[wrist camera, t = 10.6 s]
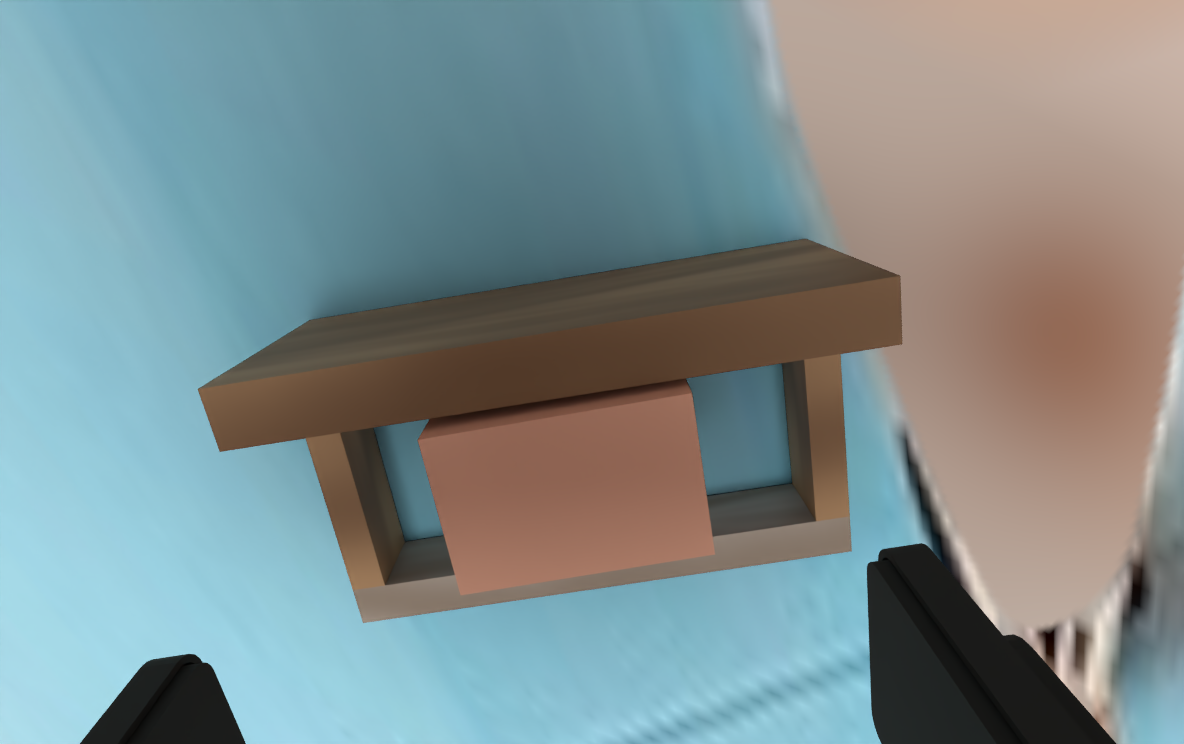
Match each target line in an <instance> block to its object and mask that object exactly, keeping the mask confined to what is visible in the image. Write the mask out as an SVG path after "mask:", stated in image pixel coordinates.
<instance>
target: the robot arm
mask: <svg viewBox="0 0 1184 744" xmlns="http://www.w3.org/2000/svg"><path fill="white" fill-rule="evenodd" d="M867 588H868V617H869V647H870V676H871V706H872V716H873V721H874V725H875V728H876V731H877V734H878V737H879V739H880V741H881V743H882V744H1116V743H1115V742H1114V740H1113V739H1112V738H1111V737H1110V736H1109V735H1108V734H1107V732H1106V731H1105V730H1104V729H1103V728H1102V727H1101V726H1100V724H1099V723H1098V722H1097V721H1096V720H1095V719H1094V718H1093V716H1092V715H1091V714H1090V713H1089V712H1088V711H1087V710H1086V708H1085V707H1084V706H1083V705H1082V704H1081V703H1080V702H1079V700H1078V699H1077V698H1076V697H1075V696H1074V695H1073V694H1072V693H1071V691H1070V690H1069V689H1068V688H1067V687H1066V686H1065V685H1064V683H1063V682H1062V681H1061V680H1060V679H1059V678H1058V677H1057V675H1056V674H1055V673H1054V672H1053V671H1052V670H1051V669H1050V667H1049V666H1048V665H1047V664H1046V663H1045V662H1044V661H1043V659H1042V658H1041V657H1040V656H1039V655H1038V654H1037V653H1036V651H1035V650H1034V649H1033V648H1032V647H1031V646H1030V645H1029V644H1028V643H1027V642H1026V641H1025V640H1023V639H1022V638H1020V637H1018V636H1016V635H1014V634H1013V635H1006V636H1003V635H1002V634H1001V633H1000V631H999V630H998V629H997V628H996V627H995V626H994V624H993V623H992V622H991V621H990V620H989V618H988V617H987V616H986V615H985V614H984V612H983V611H982V610H981V609H980V608H979V606H978V605H977V604H976V603H975V602H974V600H973V599H972V598H971V597H970V596H969V595H968V593H967V592H966V591H965V590H964V589H963V587H962V586H961V585H960V584H959V583H958V581H957V580H956V579H955V578H954V577H953V575H952V574H951V573H950V572H949V571H948V570H947V568H946V567H945V566H944V565H943V564H942V562H941V561H940V560H939V559H938V558H937V556H936V555H935V554H934V553H933V552H932V550H931V549H930V548H929V547H928V546H926V545H925V544H922V543H921V544H914V545H908V546H901V547H895V548H888V549H882V550H881V551H880V553H879V557H878V561H875V562H870V563H868V566H867ZM80 744H246V743H245V741H244V738H243V736H242V734H241V732H240V729H239V727H238V725H237V722H236V720H235V718H234V715H233V713H232V711H231V709H230V706H229V704H228V702H227V699H226V697H225V695H224V692H223V690H222V688H221V686H220V683H219V681H218V679H217V676H216V674H215V672H214V670H213V668H212V666H211V665H209V664H208V663H202V661H201V659H200V658H199V657H197V656H196V655H194V654H186V655H179V656H173V657H166V658H159V659H153V660H150V661H148V662H146V663H145V664H144V665H143V666H142V667H141V668H140V669H139V670H138V672H137V673H136V674H135V675H134V677H133V678H132V679H131V680H130V682H129V683H128V684H127V685H126V687H125V688H124V689H123V690H122V692H121V693H120V694H119V695H118V697H117V698H116V699H115V700H114V702H113V703H112V704H111V705H110V707H109V708H108V709H107V710H106V712H105V713H104V714H103V715H102V717H101V718H100V719H99V720H98V722H97V723H96V724H95V725H94V727H93V728H92V729H91V730H90V732H89V733H88V734H87V735H86V737H85V738H84V739H83V740H82V742H81V743H80Z"/></svg>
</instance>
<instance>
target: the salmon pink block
mask: <svg viewBox="0 0 1184 744" xmlns="http://www.w3.org/2000/svg"><path fill="white" fill-rule="evenodd" d="M418 443H419V447H420V450H421V454H422V457H423V461H424V465H425V468H426V472H427V476H428V479H429V483H430V486H431V490H432V494H433V497H434V501H435V505H436V508H437V512H438V516H439V519H440V523H441V526H442V530H443V534H444V537H445V541H446V545H447V548H448V552H449V555H450V559H451V563H452V566H453V570H454V574H455V577H456V581H457V584H458V588H459V592H460V595H467V594H473V593H479V592H485V591H492V590H498V589H504V588H510V587H516V586H523V585H529V584H535V583H541V582H547V581H554V580H560V579H566V578H572V577H578V576H585V575H591V574H597V573H603V572H609V571H616V570H622V569H628V568H634V567H640V566H647V565H653V564H659V563H665V562H671V561H678V560H684V559H690V558H696V557H703V556H709V555H715V550H714V543H713V536H712V529H711V522H710V515H709V508H708V501H707V494H706V487H705V480H704V473H703V466H702V459H701V452H700V445H699V438H698V431H697V424H696V417H695V410H694V403H693V396H692V392H691V390H690V387H689V385H688V383H687V381H686V378H685V379H678V380H672V381H666V382H659V383H653V384H647V385H640V386H634V387H628V388H621V389H615V390H609V391H602V392H596V393H590V394H583V395H577V396H571V397H564V398H558V399H551V400H545V401H539V402H532V403H526V404H520V405H513V406H507V407H501V408H494V409H488V410H482V411H475V412H469V413H463V414H456V415H450V416H444V417H437V418H431V419H429V421H428V423H427V425H426V426H425V428H424V430H423V432H422V433H421V435H420V437H419V439H418Z"/></svg>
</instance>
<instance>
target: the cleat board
mask: <svg viewBox="0 0 1184 744" xmlns="http://www.w3.org/2000/svg"><path fill="white" fill-rule="evenodd" d="M900 284H901V283H900V276H899V275H897V274H894V273H892V272H889V271H887V270H884V269H882V268H879V267H876V266H874V265H871V264H869V263H866V262H864V261H861V260H859V259H856V258H854V257H851V256H849V255H846V254H843V253H841V252H838V251H836V250H833V249H831V248H828V247H826V246H823V245H821V244H818V243H815V242H813V241H810V240H808V239H801V240H795V241H788V242H782V243H776V244H770V245H764V246H758V247H752V248H746V249H740V250H734V251H728V252H721V253H715V254H709V255H703V256H697V257H691V258H685V259H679V260H673V261H667V262H660V263H654V264H648V265H642V266H636V267H630V268H624V269H618V270H612V271H606V272H600V273H593V274H587V275H581V276H575V277H569V278H563V279H557V280H551V281H545V282H539V283H533V284H526V285H520V286H514V287H508V288H502V289H496V290H490V291H484V292H478V293H472V294H466V295H459V296H453V297H447V298H441V299H435V300H429V301H423V302H417V303H411V304H405V305H399V306H392V307H386V308H380V309H374V310H368V311H362V312H356V313H350V314H344V315H338V316H332V317H325V318H319V319H313V320H309V321H308V322H306V323H304V324H303V325H301V326H299V327H298V328H296V329H295V330H293V331H291V332H290V333H288V334H286V335H285V336H283V337H282V338H280V339H278V340H277V341H275V342H273V343H272V344H270V345H269V346H267V347H265V348H264V349H262V350H260V351H259V352H257V353H256V354H254V355H252V356H251V357H249V358H247V359H246V360H244V361H243V362H241V363H239V364H238V365H236V366H235V367H233V368H231V369H230V370H228V371H226V372H225V373H223V374H222V375H220V376H218V377H217V378H215V379H213V380H212V381H210V382H209V383H207V384H205V385H204V386H202V387H200V388H199V389H198V391H199V394H200V397H201V400H202V403H203V405H204V408H205V411H206V414H207V417H208V420H209V422H210V425H211V428H212V431H213V434H214V437H215V439H216V442H217V445H218V448H219V451H220V452H222V451H228V450H234V449H241V448H247V447H253V446H260V445H266V444H272V443H279V442H285V441H291V440H298V439H304V438H306V441H307V444H308V447H309V451H310V454H311V457H312V460H313V463H314V467H315V470H316V473H317V476H318V479H319V483H320V486H321V489H322V492H323V496H324V499H325V502H326V505H327V508H328V512H329V515H330V518H331V521H332V524H333V528H334V531H335V534H336V537H337V540H338V544H339V547H340V550H341V553H342V556H343V560H344V563H345V566H346V569H347V573H348V576H349V579H350V582H351V585H352V589H353V592H354V595H355V598H356V601H357V605H358V608H359V611H360V614H361V617H362V621H363V623H366V622H373V621H379V620H386V619H393V618H400V617H407V616H414V615H420V614H427V613H434V612H441V611H448V610H454V609H461V608H468V607H475V606H482V605H488V604H495V603H502V602H509V601H516V600H522V599H529V598H536V597H543V596H550V595H557V594H563V593H570V592H577V591H584V590H591V589H597V588H604V587H611V586H618V585H625V584H631V583H638V582H645V581H652V580H659V579H666V578H672V577H679V576H686V575H693V574H700V573H706V572H713V571H720V570H727V569H734V568H740V567H747V566H754V565H761V564H768V563H775V562H781V561H788V560H795V559H802V558H809V557H815V556H822V555H829V554H836V553H843V552H849V551H852V549H851V532H850V514H849V497H848V479H847V461H846V444H845V426H844V408H843V391H842V373H841V355H840V354H843V353H850V352H856V351H862V350H869V349H875V348H881V347H888V346H893V345H900V344H902V320H901V286H900ZM780 363H782V367H783V379H784V391H785V403H786V415H787V427H788V439H789V451H790V463H791V475H792V483H791V484H785V485H778V486H772V487H765V488H758V489H752V490H745V491H738V492H732V493H725V494H719V495H712V496H707V501H708V508H709V515H710V522H711V529H712V536H713V543H714V550H715V555H709V556H703V557H696V558H690V559H684V560H678V561H671V562H665V563H659V564H653V565H647V566H640V567H634V568H628V569H622V570H616V571H609V572H603V573H597V574H591V575H585V576H578V577H572V578H566V579H560V580H554V581H547V582H541V583H535V584H529V585H523V586H516V587H510V588H504V589H498V590H492V591H485V592H479V593H473V594H467V595H460V592H459V588H458V584H457V581H456V577H455V574H454V570H453V566H452V563H451V559H450V555H449V552H448V548H447V545H446V541H445V537H444V536H440V537H434V538H427V539H420V540H414V541H407V542H405V540H404V537H403V533H402V530H401V526H400V523H399V519H398V515H397V512H396V508H395V505H394V501H393V497H392V494H391V490H390V487H389V483H388V479H387V476H386V472H385V469H384V465H383V461H382V458H381V454H380V451H379V447H378V443H377V440H376V436H375V433H374V429H373V428H374V427H380V426H386V425H393V424H399V423H406V422H412V421H418V420H425V419H431V418H437V417H444V416H450V415H456V414H463V413H469V412H475V411H482V410H488V409H494V408H501V407H507V406H513V405H520V404H526V403H532V402H539V401H545V400H551V399H558V398H564V397H571V396H577V395H583V394H590V393H596V392H602V391H609V390H615V389H621V388H628V387H634V386H640V385H647V384H653V383H659V382H666V381H672V380H678V379H685V378H691V377H697V376H704V375H710V374H716V373H723V372H729V371H736V370H742V369H748V368H755V367H761V366H767V365H774V364H780Z"/></svg>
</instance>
